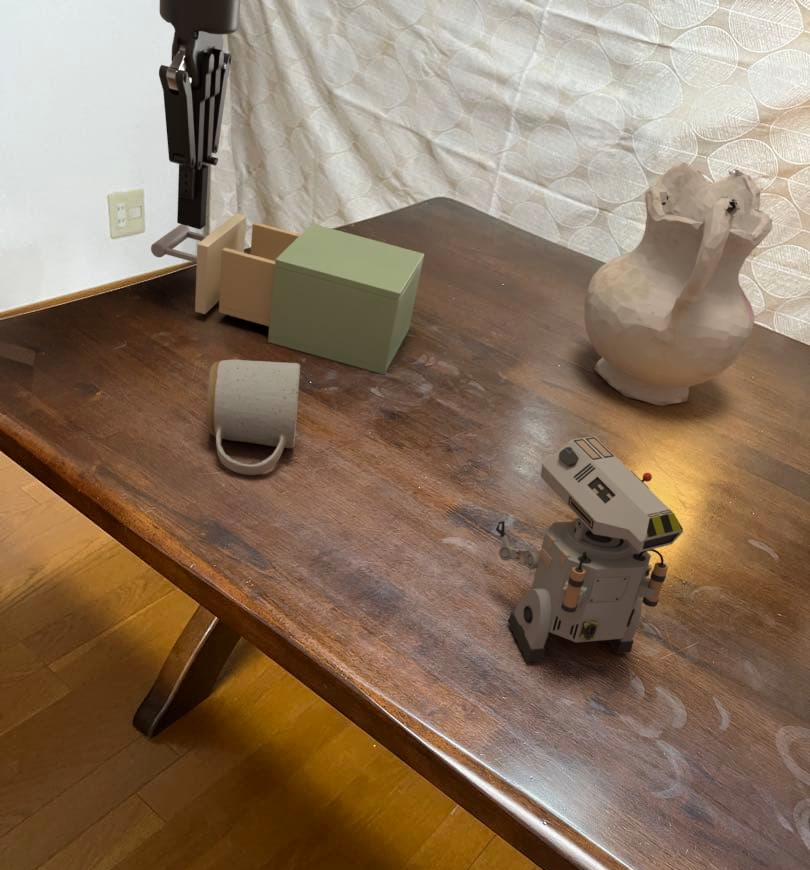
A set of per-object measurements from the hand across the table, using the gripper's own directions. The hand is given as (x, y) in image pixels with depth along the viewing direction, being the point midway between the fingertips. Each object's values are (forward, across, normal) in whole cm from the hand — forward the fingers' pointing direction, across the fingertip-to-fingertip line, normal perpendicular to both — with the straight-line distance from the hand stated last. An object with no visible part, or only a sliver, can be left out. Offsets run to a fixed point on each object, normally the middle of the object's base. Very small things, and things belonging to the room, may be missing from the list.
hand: (191, 224), depth 96 cm
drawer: (+7, 0, -6) cm, 10 cm away
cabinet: (+8, 0, -19) cm, 20 cm away
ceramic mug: (+9, -26, -18) cm, 33 cm away
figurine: (+8, -38, -48) cm, 62 cm away
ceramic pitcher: (+8, +9, -55) cm, 56 cm away
